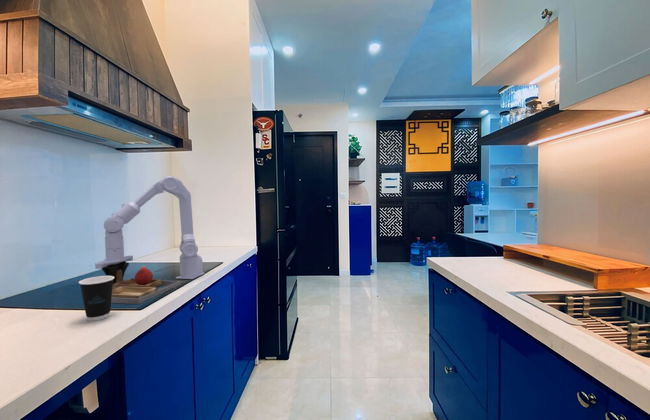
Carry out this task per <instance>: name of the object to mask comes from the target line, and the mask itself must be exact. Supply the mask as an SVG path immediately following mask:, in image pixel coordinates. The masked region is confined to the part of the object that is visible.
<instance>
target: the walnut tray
mask: <svg viewBox="0 0 650 420" xmlns="http://www.w3.org/2000/svg"><path fill="white" fill-rule="evenodd" d="M162 280H163V279H161V278H153V279H152V281H151V282H150V283H149V284H147V285H138V284H137V283H136V282H135V277H134V278H133V277H132V278H128V279H125V280H123V281H122V270H120V269H118V270H117V274H116V283H115V284H113V290H114V289H116V288H119V287H122V286H127V287H154V288H159V287H161V286H164V285H163V283H162Z"/></svg>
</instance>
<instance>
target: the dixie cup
mask: <svg viewBox="0 0 650 420" xmlns="http://www.w3.org/2000/svg"><path fill="white" fill-rule="evenodd" d="M113 279H114V276H106V275H100V276H93V277H88V278H84V279H82V280H79V281H78V284H79V286H80V290H81V294H82V296H81V297H82V301H83V306H84V311H85V317H87V321H90V322H93V321H100V320H103V319H106V318H108V317H109V316H110V312H111V309H112V307H111V306H112V303H111V298H112V287H113Z"/></svg>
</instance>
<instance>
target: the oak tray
mask: <svg viewBox="0 0 650 420" xmlns="http://www.w3.org/2000/svg"><path fill="white" fill-rule="evenodd" d="M157 289H158V287H156V288H154V287H127V286H122V287H119V288H116V289H114V290H113V287H112V297H117V298H141V297H143V296H145V295H148V294H150V293H152V292H155V291H157Z"/></svg>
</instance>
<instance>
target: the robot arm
mask: <svg viewBox="0 0 650 420" xmlns="http://www.w3.org/2000/svg"><path fill="white" fill-rule="evenodd" d="M165 192H167V193H168V194H172V195H173V196H174V197H175V198H178V204H179V216H180V230H181V232H180V233H181V237H180V239H181V241H180V244H179V251H180V252H181V254H180V255H179V276H176V277H175V279H177V280H178V279H180V280H193V279H196V278H198V277H200V276H202V275H204V274H205V272H204V270H203V266H204V265H203V263H204V262H203V257H202V256H201V255H200V254H198V251H199V250H198V249H199V248H198V245H197V244H196V241H195V240H196V239H195V235H194V221H193V209H192V206H193V205H192V196H191V195H192V194H191V192H190V191H189V190H188V188H187V187H186V186H185V185H184V184H183V182H182V181H181V180H180V179H179V178H177V177H175V176H174V175H173V176H172V175H167V176H165V177H164V178H163V179H162V180H159V181H157V182H156V183H154V184H153V185H151V186H150V187H149V188H148V189H147V190H146V191H145V192H143V193H142V194H141V195H140V196H139V197H138V198H136V200H135V201H132V202H131V201H129V202H126V203H123V204H121V207H120V208H119V209H118V210H116V212H112V213H111V214H110V216H109V217H107V218H106V220H105V221H104V222H103V228H104V230H105V232H104V235H105V236H104V246H105V248H104V249H105V259H104V260H102V261H99V262H96V263H95V264H94V265H95V269H101V270H102V272H103V273H104V274H105V276H114V279H113V284H115V283H116V274H117V270H118V269H120V270H122V281H124V276H125V273H126V270H127V269H128V267H129V265H130V263H129V262H131V261H134V259H133V258H134V256H133V255H125V249H124V248H125V247H124V246H125V244H124V243H125V242H124V234H123V228H124V225H125V224H126V225H127V224H128V223H130V222H131V221H132V220H133V219H135V217H137V216H138V214H140V213H141V207H143V206H144V205H145V204H146V203H148V202H149V201H150V200H151V199H153V197H154V196H156V195H159V194H163V193H165Z"/></svg>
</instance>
